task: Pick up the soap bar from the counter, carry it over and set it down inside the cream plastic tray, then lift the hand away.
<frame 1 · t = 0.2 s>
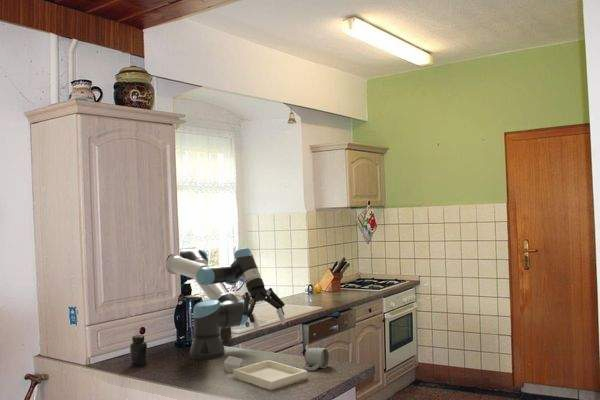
hand: (271, 326, 234), 15 cm above the worktop, tool tilted 35°, fingers open, 13 cm apart
supplement bottle: (138, 365, 233), on the worktop
tray: (270, 378, 212), on the worktop
soap bar: (232, 369, 225), on the worktop
ceramic mug: (316, 368, 225), on the worktop
wooden container: (216, 338, 280), on the worktop
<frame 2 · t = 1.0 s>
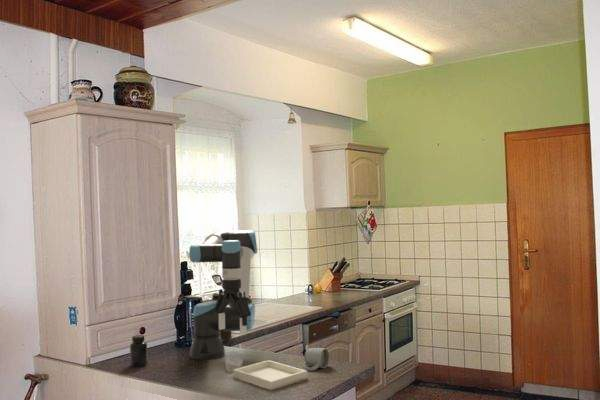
hand: (232, 331, 226), 15 cm above the worktop, tool pointing down, fingers open, 13 cm apart
nothing on the worktop moved.
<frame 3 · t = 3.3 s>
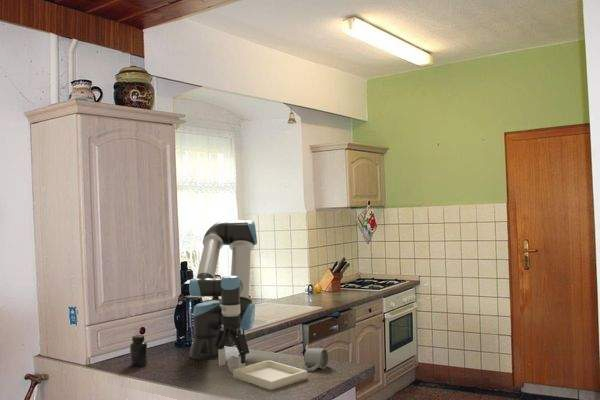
hand: (231, 368, 225), 0 cm above the worktop, tool pointing down, fingers open, 12 cm apart
soap bar: (236, 369, 225), on the worktop
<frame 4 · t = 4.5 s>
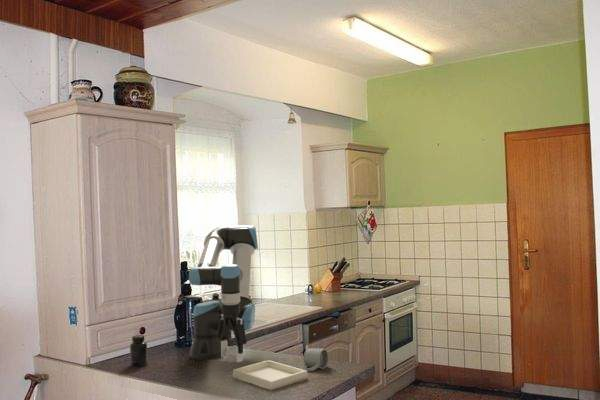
hand: (231, 358, 226), 4 cm above the worktop, tool pointing down, fingers closed on soap bar, 9 cm apart
soap bar: (233, 359, 227), point 3 cm above the worktop, touching gripper
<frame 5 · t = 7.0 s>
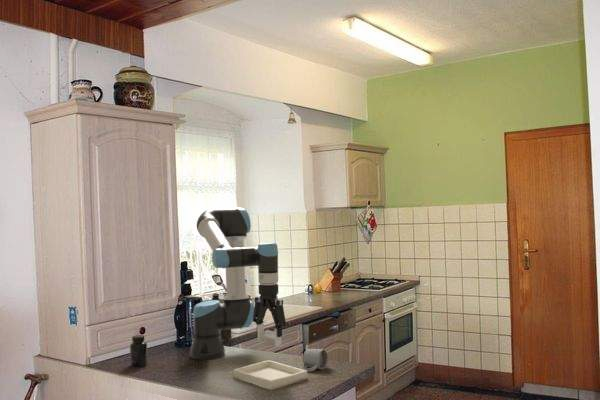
hand: (269, 343, 212), 13 cm above the worktop, tool pointing down, fingers closed on soap bar, 9 cm apart
soap bar: (271, 343, 213), point 13 cm above the worktop, touching gripper
when the fingers open (1 cm above the worktop, at t = 9.9 s): soap bar stays where it is, resting on tray.
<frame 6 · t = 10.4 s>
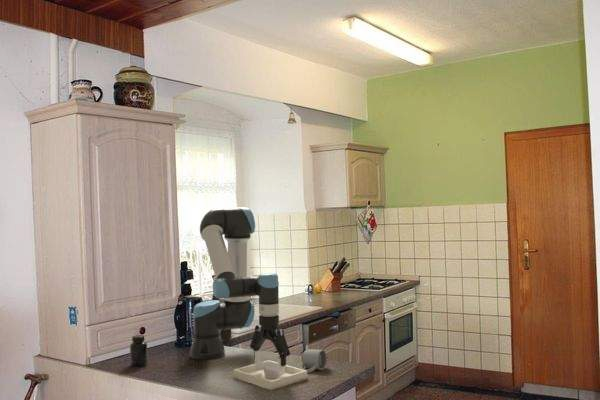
hand: (269, 371, 212), 3 cm above the worktop, tool pointing down, fingers open, 13 cm apart
soap bar: (271, 375, 213), point 1 cm above the worktop, touching tray
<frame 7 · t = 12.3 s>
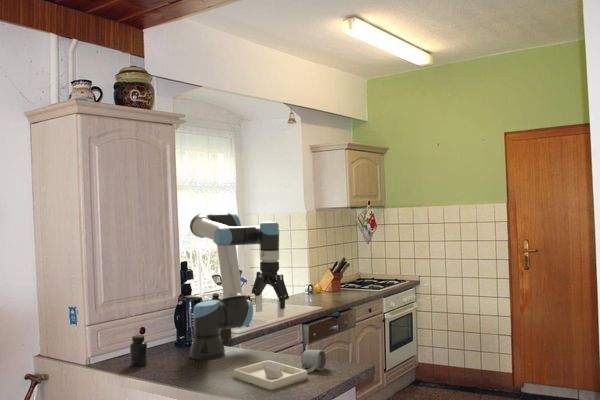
hand: (269, 314, 222), 22 cm above the worktop, tool pointing down, fingers open, 13 cm apart
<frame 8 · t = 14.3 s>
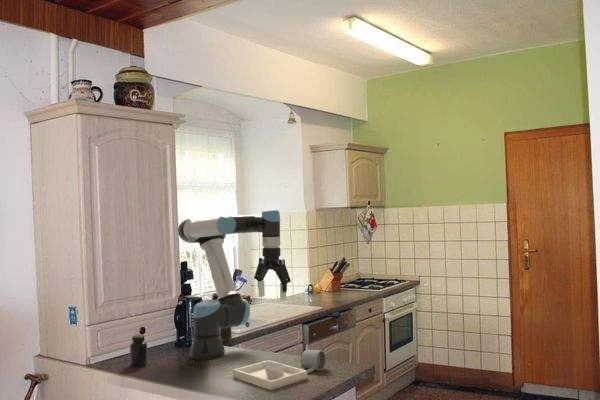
hand: (272, 298, 233), 27 cm above the worktop, tool pointing down, fingers open, 13 cm apart
at the end: soap bar inside the target area on the tray (1.6 cm from its centre), point 0.6 cm above the tray's base; the gripper is holding nothing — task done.
